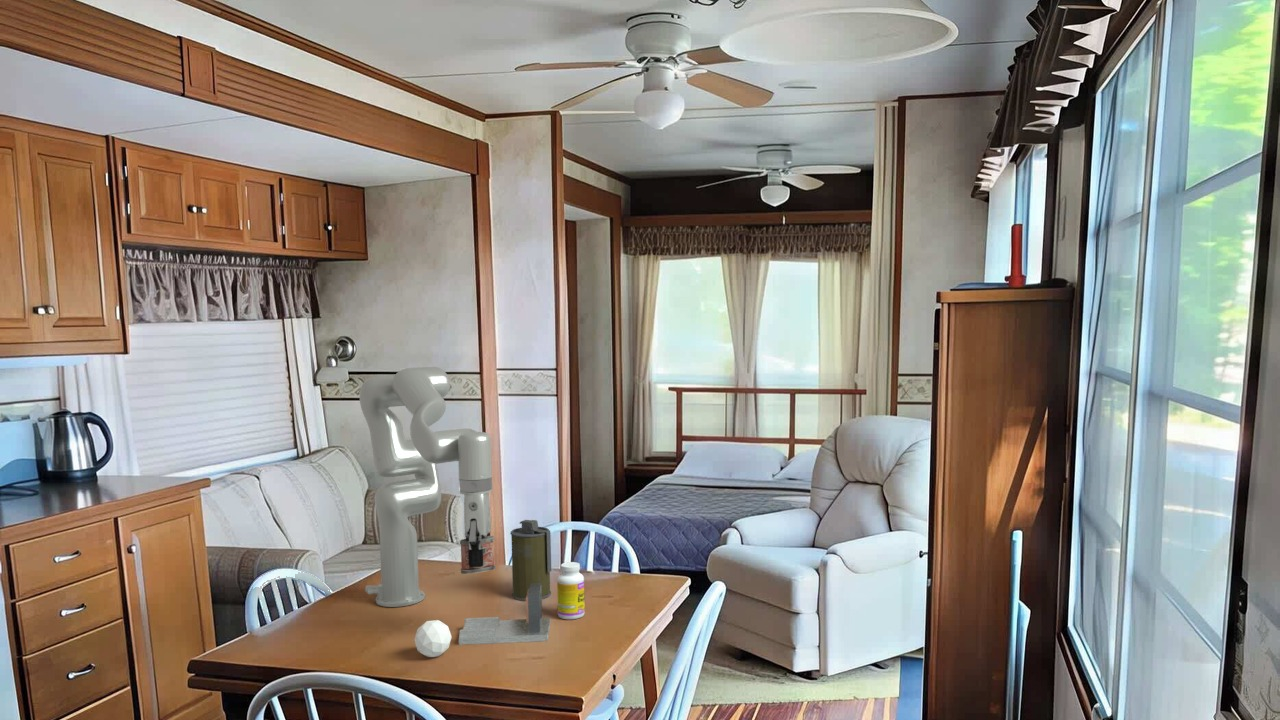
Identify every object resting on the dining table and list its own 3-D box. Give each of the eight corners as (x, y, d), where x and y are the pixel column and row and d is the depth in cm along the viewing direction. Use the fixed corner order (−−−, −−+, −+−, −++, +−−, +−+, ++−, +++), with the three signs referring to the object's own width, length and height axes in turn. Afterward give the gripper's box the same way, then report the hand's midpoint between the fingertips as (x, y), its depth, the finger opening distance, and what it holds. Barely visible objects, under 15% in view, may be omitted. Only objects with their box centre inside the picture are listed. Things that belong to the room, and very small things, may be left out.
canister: (504, 598, 221) (502, 524, 220) (524, 587, 230) (522, 515, 230) (540, 603, 216) (538, 526, 216) (559, 591, 226) (557, 518, 225)
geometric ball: (429, 664, 184) (429, 628, 189) (458, 655, 182) (458, 619, 186) (406, 658, 178) (407, 621, 183) (436, 648, 176) (436, 611, 180)
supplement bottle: (580, 621, 202) (579, 568, 202) (554, 619, 203) (553, 567, 203) (588, 612, 209) (586, 561, 208) (562, 610, 210) (561, 560, 210)
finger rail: (458, 644, 188) (457, 598, 188) (466, 627, 199) (465, 584, 199) (547, 641, 189) (546, 595, 189) (550, 624, 200) (548, 581, 200)
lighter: (463, 574, 190) (461, 531, 190) (459, 571, 193) (457, 528, 193) (497, 569, 194) (495, 527, 194) (492, 566, 197) (491, 524, 197)
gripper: (487, 491, 185) (489, 573, 185) (496, 478, 201) (498, 553, 202) (453, 493, 184) (455, 574, 185) (464, 479, 201) (467, 554, 202)
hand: (477, 562), depth 193 cm, fingers closed on lighter, 4 cm apart
